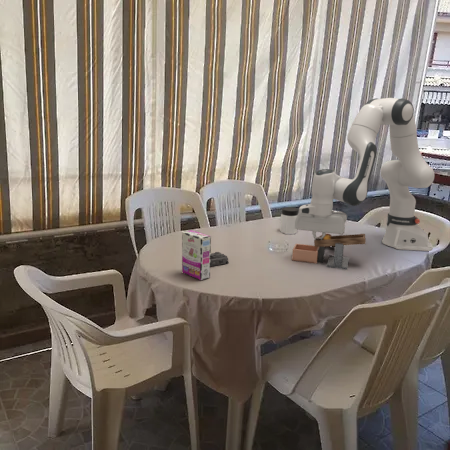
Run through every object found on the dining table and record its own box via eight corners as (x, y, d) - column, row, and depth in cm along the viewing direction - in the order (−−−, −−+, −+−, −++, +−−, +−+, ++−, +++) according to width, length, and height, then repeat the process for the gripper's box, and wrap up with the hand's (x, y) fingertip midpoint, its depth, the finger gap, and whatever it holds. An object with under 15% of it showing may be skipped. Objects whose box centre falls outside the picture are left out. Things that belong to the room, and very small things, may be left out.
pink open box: (318, 257, 198) (319, 246, 197) (316, 263, 191) (317, 252, 189) (295, 254, 201) (295, 243, 200) (292, 260, 193) (292, 249, 192)
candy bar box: (211, 278, 173) (211, 235, 168) (200, 281, 169) (201, 238, 165) (191, 269, 180) (191, 229, 176) (181, 272, 177) (181, 231, 172)
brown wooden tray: (365, 239, 191) (365, 232, 190) (365, 245, 183) (364, 238, 182) (316, 242, 197) (316, 236, 196) (314, 248, 189) (313, 241, 189)
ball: (322, 235, 193) (325, 241, 193) (321, 237, 190) (324, 243, 190) (329, 233, 192) (331, 239, 192) (328, 235, 189) (331, 241, 189)
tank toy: (204, 270, 182) (204, 257, 180) (194, 262, 190) (194, 250, 188) (231, 265, 187) (231, 253, 186) (220, 258, 195) (220, 246, 194)
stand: (348, 259, 197) (351, 236, 194) (347, 269, 185) (349, 245, 182) (320, 255, 200) (322, 233, 198) (316, 265, 188) (318, 242, 186)
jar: (284, 228, 240) (285, 206, 237) (299, 231, 237) (300, 208, 234) (278, 233, 233) (279, 209, 229) (293, 235, 229) (295, 212, 226)
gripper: (347, 210, 189) (344, 242, 192) (297, 205, 194) (295, 237, 198) (347, 213, 183) (343, 247, 186) (295, 208, 188) (292, 241, 192)
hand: (318, 241), depth 192 cm, fingers closed
